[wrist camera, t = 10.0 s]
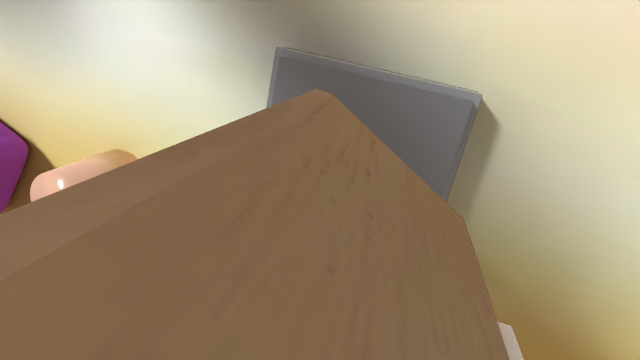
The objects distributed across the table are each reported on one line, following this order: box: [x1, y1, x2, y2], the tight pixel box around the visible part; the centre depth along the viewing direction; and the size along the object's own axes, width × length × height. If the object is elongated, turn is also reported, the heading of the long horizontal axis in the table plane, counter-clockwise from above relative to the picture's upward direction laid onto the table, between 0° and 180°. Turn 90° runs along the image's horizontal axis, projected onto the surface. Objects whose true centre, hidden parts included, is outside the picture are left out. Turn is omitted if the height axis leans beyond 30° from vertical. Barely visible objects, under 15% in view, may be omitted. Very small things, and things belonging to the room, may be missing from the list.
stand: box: [267, 47, 482, 202], centre depth 30 cm, size 14×14×3 cm
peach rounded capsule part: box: [30, 149, 138, 202], centre depth 33 cm, size 5×5×7 cm
